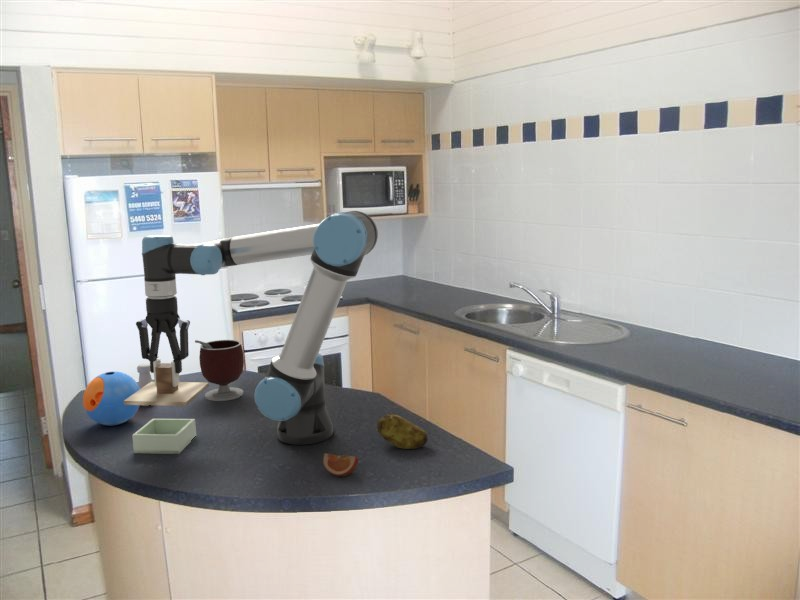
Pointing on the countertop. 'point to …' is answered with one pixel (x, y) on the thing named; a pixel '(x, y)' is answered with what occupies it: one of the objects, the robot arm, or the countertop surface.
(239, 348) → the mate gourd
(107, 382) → the treat dispenser ball
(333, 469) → the fruit slice
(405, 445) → the potato
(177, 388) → the lid
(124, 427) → the countertop surface
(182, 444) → the dish
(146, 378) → the salt shaker
